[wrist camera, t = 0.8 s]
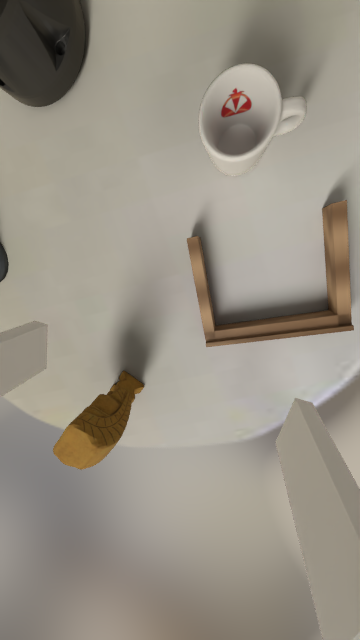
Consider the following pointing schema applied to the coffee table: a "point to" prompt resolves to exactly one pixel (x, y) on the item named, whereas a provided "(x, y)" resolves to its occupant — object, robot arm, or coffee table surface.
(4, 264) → the mug
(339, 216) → the brown wooden open frame
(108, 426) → the figurine
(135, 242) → the coffee table surface
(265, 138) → the cup
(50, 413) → the coffee table surface
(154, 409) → the coffee table surface
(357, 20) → the coffee table surface
